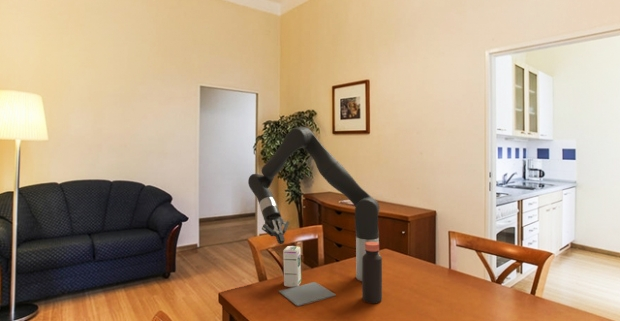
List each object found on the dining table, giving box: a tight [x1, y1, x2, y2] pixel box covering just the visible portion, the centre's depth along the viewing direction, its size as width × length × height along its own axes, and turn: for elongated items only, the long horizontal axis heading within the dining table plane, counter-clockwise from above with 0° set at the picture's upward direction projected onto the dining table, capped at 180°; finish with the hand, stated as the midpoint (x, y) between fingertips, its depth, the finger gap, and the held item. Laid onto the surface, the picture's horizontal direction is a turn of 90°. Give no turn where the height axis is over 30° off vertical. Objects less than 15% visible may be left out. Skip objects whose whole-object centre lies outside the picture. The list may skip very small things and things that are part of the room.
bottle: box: [361, 242, 383, 304], centre depth 118 cm, size 7×7×20 cm
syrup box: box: [282, 245, 302, 288], centre depth 133 cm, size 6×6×14 cm
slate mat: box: [278, 281, 336, 307], centre depth 124 cm, size 16×14×1 cm
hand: (282, 243), depth 140 cm, fingers closed
